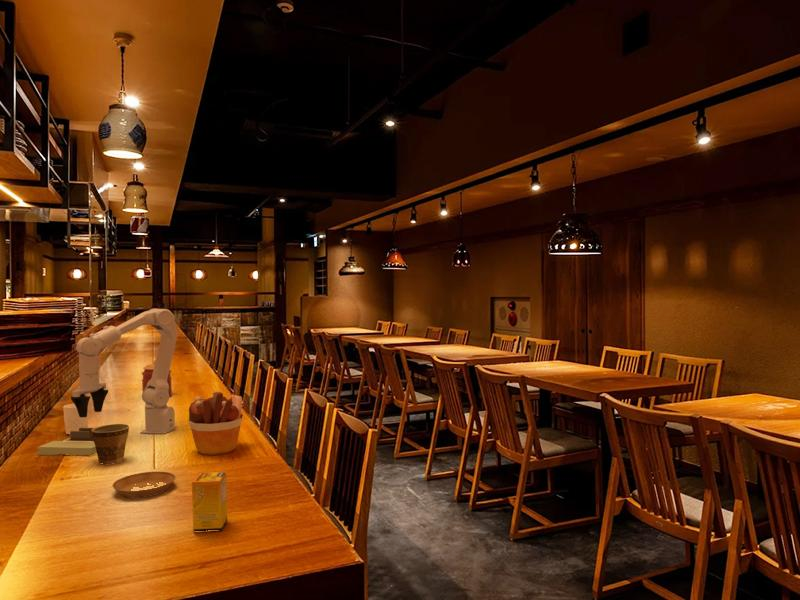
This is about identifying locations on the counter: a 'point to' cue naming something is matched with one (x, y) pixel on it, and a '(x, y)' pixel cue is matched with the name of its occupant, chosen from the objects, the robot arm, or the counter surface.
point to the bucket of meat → (215, 423)
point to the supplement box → (209, 501)
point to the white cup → (73, 419)
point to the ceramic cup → (110, 442)
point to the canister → (148, 375)
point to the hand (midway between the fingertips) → (90, 414)
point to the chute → (81, 435)
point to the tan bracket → (68, 448)
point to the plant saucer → (143, 483)
